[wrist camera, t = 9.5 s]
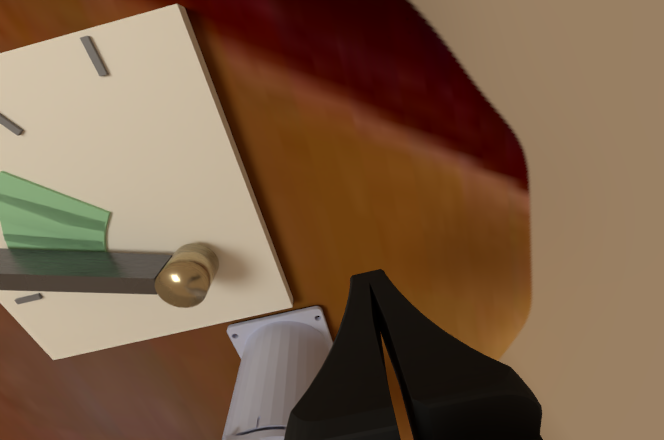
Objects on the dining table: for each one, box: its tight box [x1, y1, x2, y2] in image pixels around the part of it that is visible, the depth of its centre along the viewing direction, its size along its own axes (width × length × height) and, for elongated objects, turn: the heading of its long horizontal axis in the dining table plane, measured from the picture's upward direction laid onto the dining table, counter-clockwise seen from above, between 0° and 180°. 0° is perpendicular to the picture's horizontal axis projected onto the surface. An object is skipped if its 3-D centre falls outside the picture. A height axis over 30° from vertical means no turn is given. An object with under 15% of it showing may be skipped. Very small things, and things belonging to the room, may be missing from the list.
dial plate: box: [0, 4, 293, 360], centre depth 21 cm, size 20×20×1 cm
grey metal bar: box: [0, 243, 219, 308], centre depth 20 cm, size 14×3×3 cm, turn 85°
